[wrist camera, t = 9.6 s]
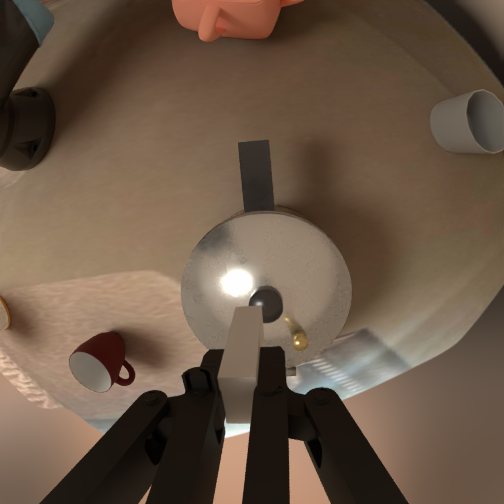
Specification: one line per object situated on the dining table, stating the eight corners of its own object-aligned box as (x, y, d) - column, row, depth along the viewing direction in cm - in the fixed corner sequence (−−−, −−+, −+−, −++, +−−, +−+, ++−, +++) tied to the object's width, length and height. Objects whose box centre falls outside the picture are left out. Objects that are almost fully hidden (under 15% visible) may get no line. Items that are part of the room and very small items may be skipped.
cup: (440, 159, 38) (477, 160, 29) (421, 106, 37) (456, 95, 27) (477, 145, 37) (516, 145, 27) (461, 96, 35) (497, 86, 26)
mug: (153, 348, 50) (132, 382, 40) (137, 374, 52) (116, 408, 42) (103, 313, 49) (74, 341, 39) (91, 342, 51) (64, 371, 41)
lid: (171, 220, 33) (162, 225, 30) (349, 206, 31) (356, 210, 29) (199, 374, 38) (194, 389, 35) (345, 367, 37) (350, 381, 34)
